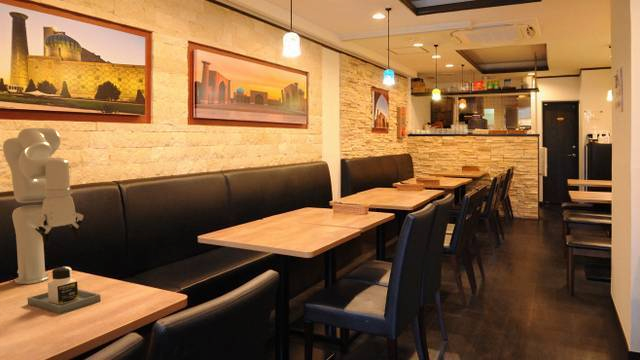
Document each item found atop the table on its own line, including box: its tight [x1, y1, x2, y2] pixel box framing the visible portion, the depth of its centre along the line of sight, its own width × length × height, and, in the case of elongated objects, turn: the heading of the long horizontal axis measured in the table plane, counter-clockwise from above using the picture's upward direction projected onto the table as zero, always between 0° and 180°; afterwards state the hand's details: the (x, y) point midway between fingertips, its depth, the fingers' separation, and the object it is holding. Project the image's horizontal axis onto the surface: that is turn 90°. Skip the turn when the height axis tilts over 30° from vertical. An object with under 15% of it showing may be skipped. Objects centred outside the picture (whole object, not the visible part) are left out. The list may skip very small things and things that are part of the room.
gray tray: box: [27, 288, 101, 315], centre depth 171 cm, size 20×15×2 cm
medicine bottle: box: [47, 266, 79, 305], centre depth 170 cm, size 7×7×12 cm
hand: (60, 241), depth 169 cm, fingers open, 9 cm apart
